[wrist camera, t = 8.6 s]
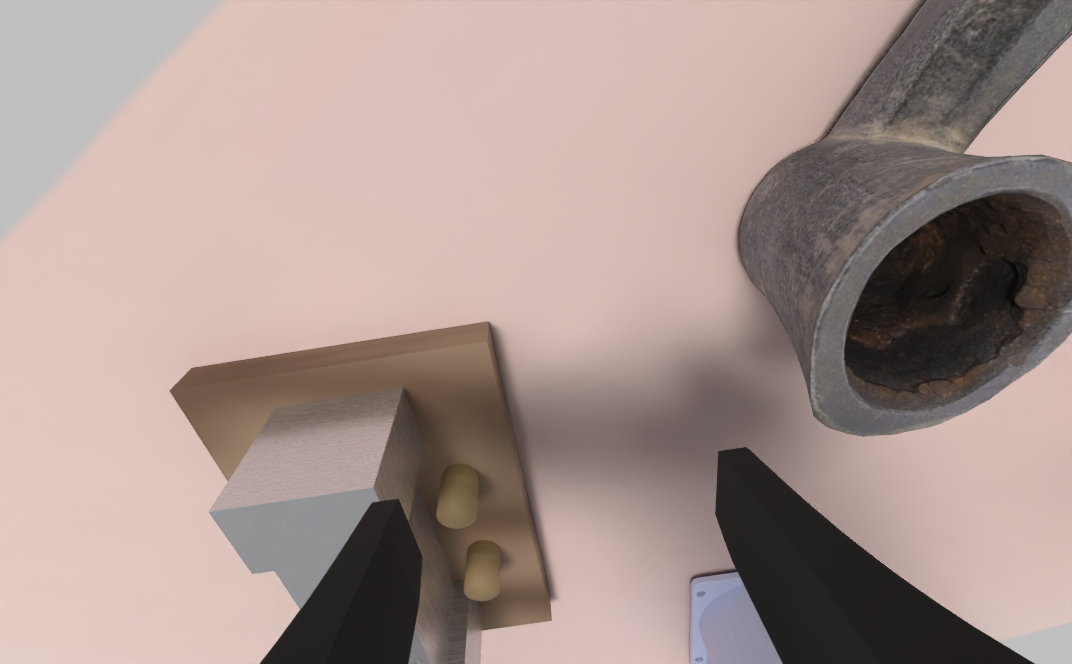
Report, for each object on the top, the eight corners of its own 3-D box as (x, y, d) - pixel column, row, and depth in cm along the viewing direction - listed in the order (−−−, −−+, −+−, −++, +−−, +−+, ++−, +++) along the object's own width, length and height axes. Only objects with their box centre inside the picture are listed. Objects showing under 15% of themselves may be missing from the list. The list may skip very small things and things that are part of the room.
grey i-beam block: (482, 613, 26) (477, 723, 22) (390, 626, 27) (367, 738, 22) (403, 386, 19) (373, 487, 15) (275, 406, 19) (208, 511, 15)
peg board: (549, 594, 28) (555, 659, 25) (344, 623, 29) (325, 691, 26) (488, 321, 19) (484, 372, 16) (191, 368, 20) (134, 426, 17)
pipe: (1053, -12, 15) (1525, -63, 8) (782, 328, 20) (925, 471, 14) (909, -129, 13) (1338, -317, 7) (658, 272, 19) (747, 402, 12)
